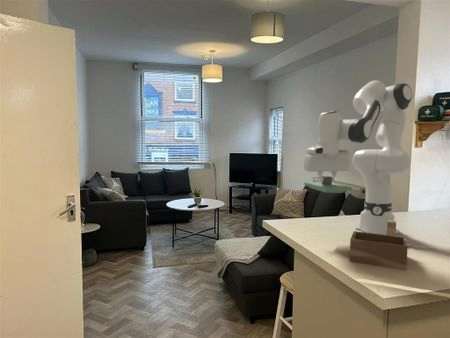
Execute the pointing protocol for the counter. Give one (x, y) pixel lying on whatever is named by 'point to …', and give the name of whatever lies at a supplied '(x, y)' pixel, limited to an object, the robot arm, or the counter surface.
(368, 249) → the toolbox
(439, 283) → the counter surface
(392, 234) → the wooden block
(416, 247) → the pliers
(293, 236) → the counter surface
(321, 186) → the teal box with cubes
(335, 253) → the counter surface
